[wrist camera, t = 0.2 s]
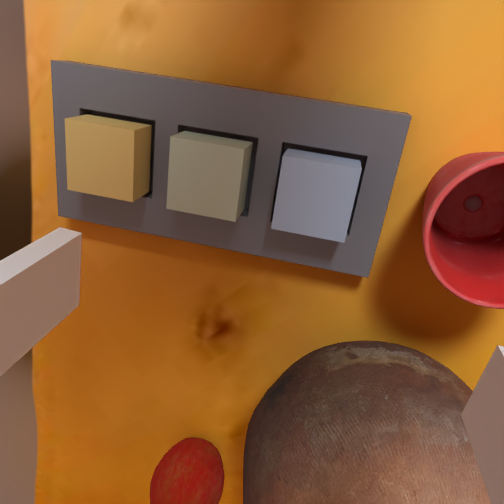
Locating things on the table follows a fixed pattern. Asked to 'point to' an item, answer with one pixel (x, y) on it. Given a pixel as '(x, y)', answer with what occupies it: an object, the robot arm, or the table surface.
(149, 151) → the ochre button
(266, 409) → the pottery
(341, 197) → the blue button
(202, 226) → the button board
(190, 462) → the red oval body
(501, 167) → the flower pot
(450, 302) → the table surface
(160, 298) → the table surface
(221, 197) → the sage button
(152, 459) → the table surface
